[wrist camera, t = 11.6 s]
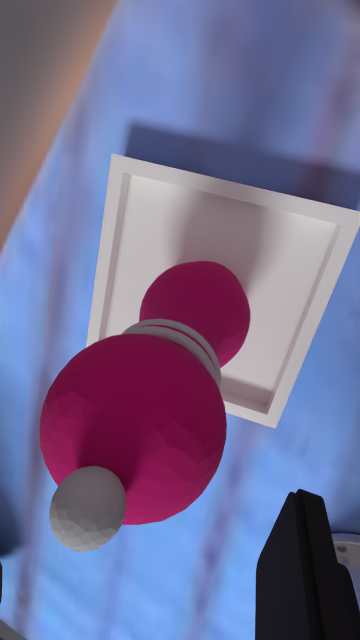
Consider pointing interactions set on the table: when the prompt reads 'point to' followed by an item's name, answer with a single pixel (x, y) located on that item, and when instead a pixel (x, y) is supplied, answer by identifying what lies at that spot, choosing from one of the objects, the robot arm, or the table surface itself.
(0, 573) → the butternut squash
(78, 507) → the pepper mill
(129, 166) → the tray
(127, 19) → the table surface
